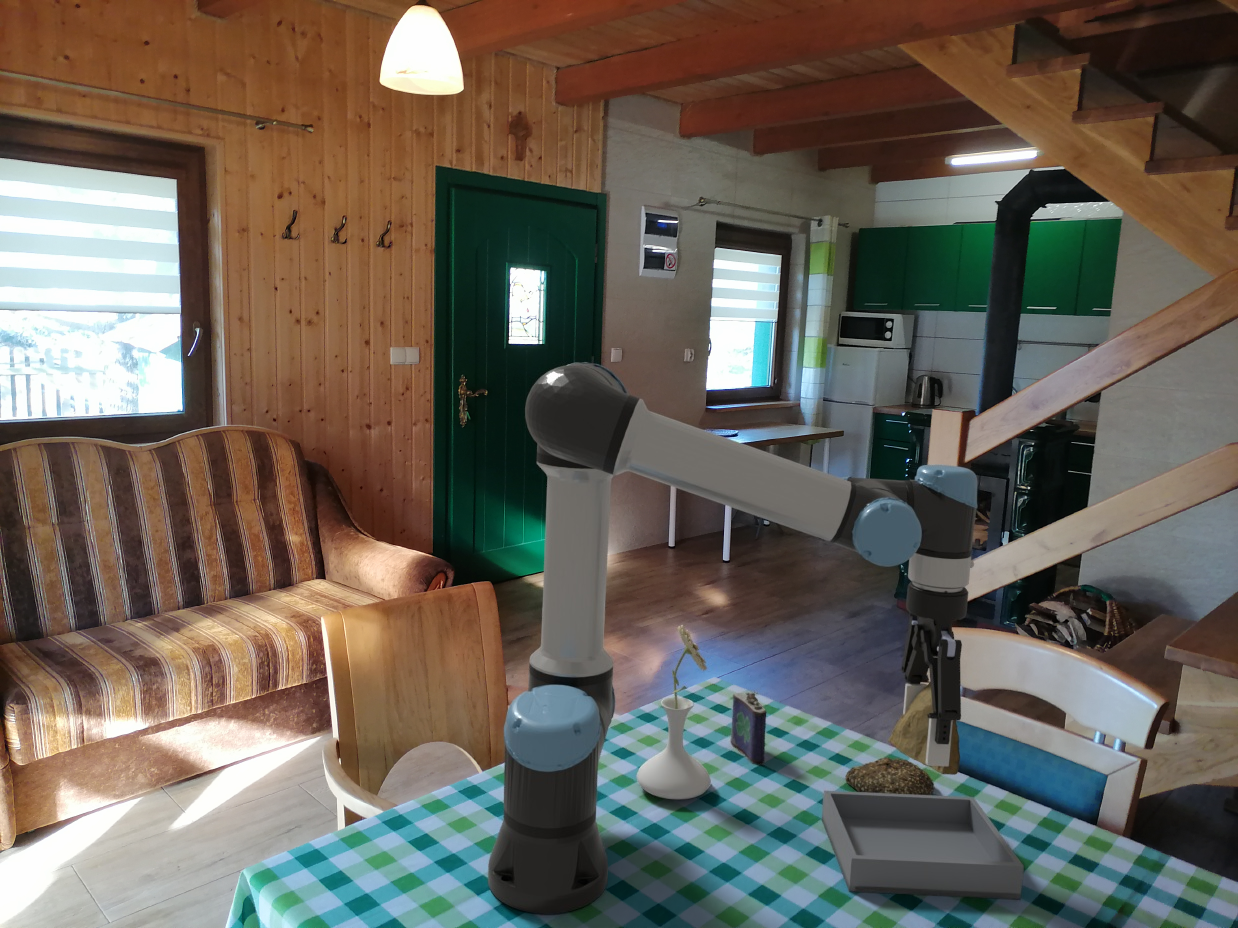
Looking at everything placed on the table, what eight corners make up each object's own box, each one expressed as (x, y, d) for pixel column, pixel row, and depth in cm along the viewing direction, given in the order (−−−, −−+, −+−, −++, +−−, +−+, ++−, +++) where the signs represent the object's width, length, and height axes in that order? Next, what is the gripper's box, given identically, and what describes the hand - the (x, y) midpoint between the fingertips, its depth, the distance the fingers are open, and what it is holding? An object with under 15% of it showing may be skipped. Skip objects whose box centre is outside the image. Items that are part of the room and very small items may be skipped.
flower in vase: (707, 811, 137) (716, 647, 133) (631, 802, 138) (637, 640, 135) (713, 770, 149) (721, 620, 146) (642, 763, 151) (649, 614, 148)
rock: (984, 765, 118) (972, 724, 127) (946, 712, 117) (938, 675, 126) (908, 800, 121) (902, 758, 131) (871, 749, 121) (868, 710, 130)
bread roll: (899, 817, 138) (901, 785, 137) (834, 783, 147) (836, 753, 147) (950, 794, 145) (953, 764, 144) (886, 763, 155) (888, 735, 154)
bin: (849, 891, 118) (851, 858, 117) (821, 819, 135) (823, 790, 135) (1020, 899, 118) (1023, 865, 117) (970, 826, 135) (973, 797, 134)
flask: (727, 741, 160) (731, 682, 159) (742, 739, 161) (746, 680, 160) (753, 765, 152) (757, 703, 150) (769, 763, 153) (773, 701, 151)
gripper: (1000, 611, 110) (983, 788, 113) (939, 564, 132) (926, 713, 135) (937, 608, 110) (921, 785, 113) (886, 562, 132) (874, 711, 136)
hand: (924, 746), depth 124 cm, fingers closed on rock, 10 cm apart
